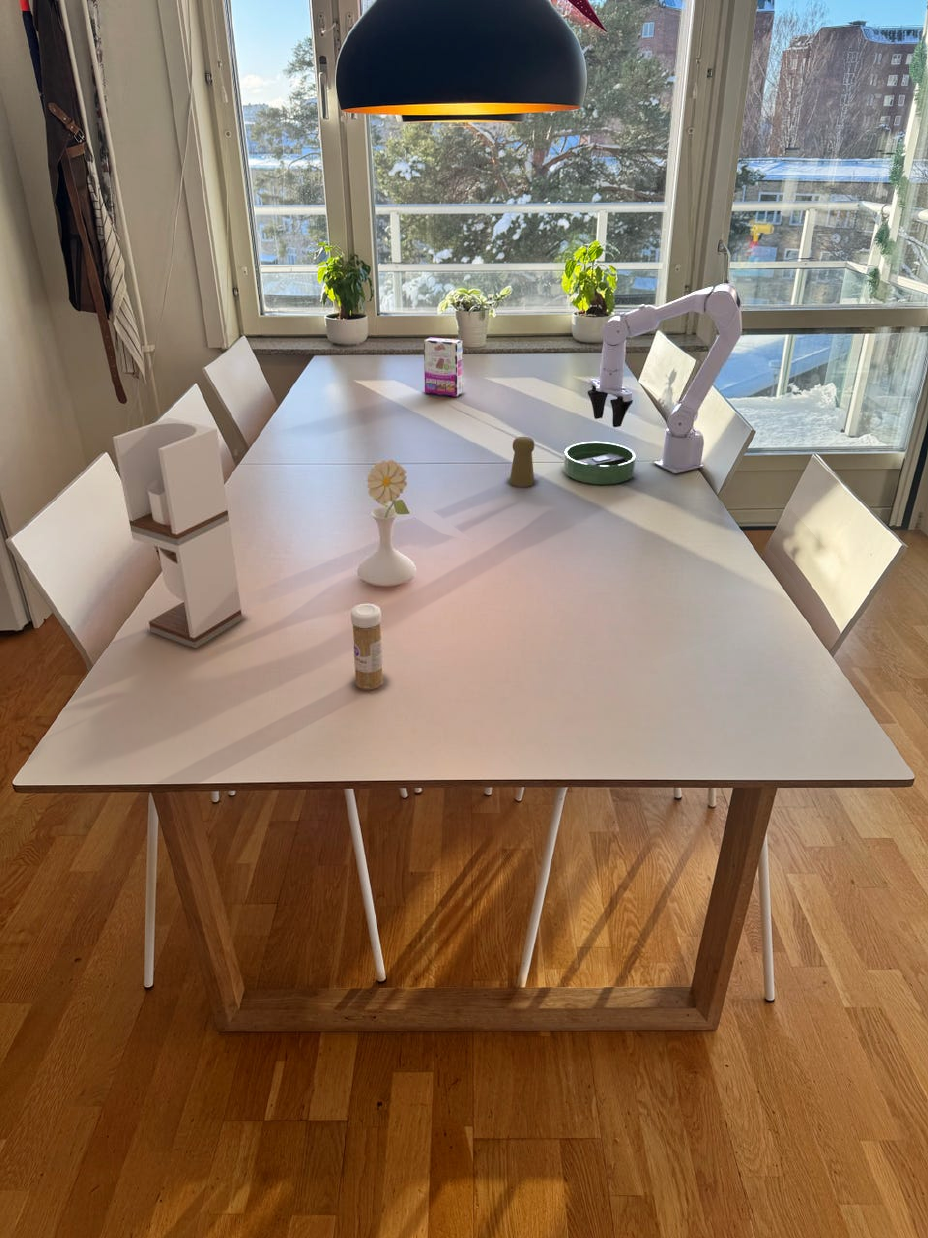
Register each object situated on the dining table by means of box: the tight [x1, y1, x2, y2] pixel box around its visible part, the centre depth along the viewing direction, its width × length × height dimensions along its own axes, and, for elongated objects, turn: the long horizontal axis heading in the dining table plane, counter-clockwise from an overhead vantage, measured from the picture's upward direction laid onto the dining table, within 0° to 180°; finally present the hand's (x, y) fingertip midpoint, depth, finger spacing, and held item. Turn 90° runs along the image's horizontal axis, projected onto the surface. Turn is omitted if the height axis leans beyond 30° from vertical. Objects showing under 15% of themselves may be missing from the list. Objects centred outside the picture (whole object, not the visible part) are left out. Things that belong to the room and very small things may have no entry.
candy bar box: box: [423, 336, 464, 398], centre depth 277 cm, size 11×5×16 cm, turn 67°
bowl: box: [563, 441, 637, 486], centre depth 222 cm, size 17×17×5 cm
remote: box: [577, 453, 625, 466], centre depth 222 cm, size 12×4×3 cm, turn 120°
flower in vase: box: [356, 459, 417, 588], centre depth 167 cm, size 13×11×25 cm
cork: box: [509, 436, 535, 488], centre depth 215 cm, size 6×6×11 cm
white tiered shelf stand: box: [112, 417, 243, 649], centre depth 149 cm, size 11×11×35 cm
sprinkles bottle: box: [350, 603, 384, 691], centre depth 140 cm, size 5×5×13 cm
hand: (607, 422), depth 228 cm, fingers open, 7 cm apart
